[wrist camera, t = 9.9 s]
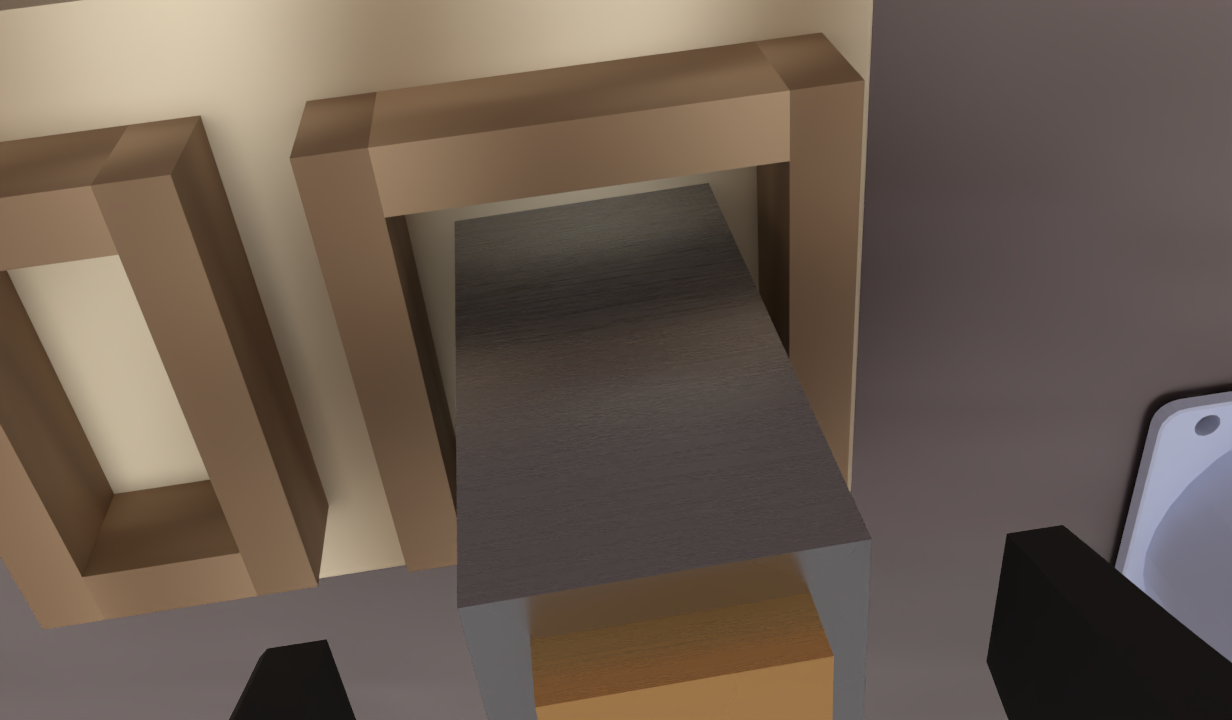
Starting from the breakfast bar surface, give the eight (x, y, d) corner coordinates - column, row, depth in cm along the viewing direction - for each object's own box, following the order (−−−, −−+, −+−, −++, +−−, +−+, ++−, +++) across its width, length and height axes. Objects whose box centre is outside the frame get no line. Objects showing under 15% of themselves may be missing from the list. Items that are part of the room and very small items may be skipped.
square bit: (708, 182, 17) (899, 601, 10) (720, 387, 19) (882, 848, 12) (454, 221, 17) (458, 676, 10) (497, 422, 19) (526, 911, 12)
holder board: (855, -116, 16) (931, -67, 13) (835, 462, 22) (884, 569, 19) (-211, 19, 15) (-342, 97, 12) (86, 578, 21) (39, 704, 19)
